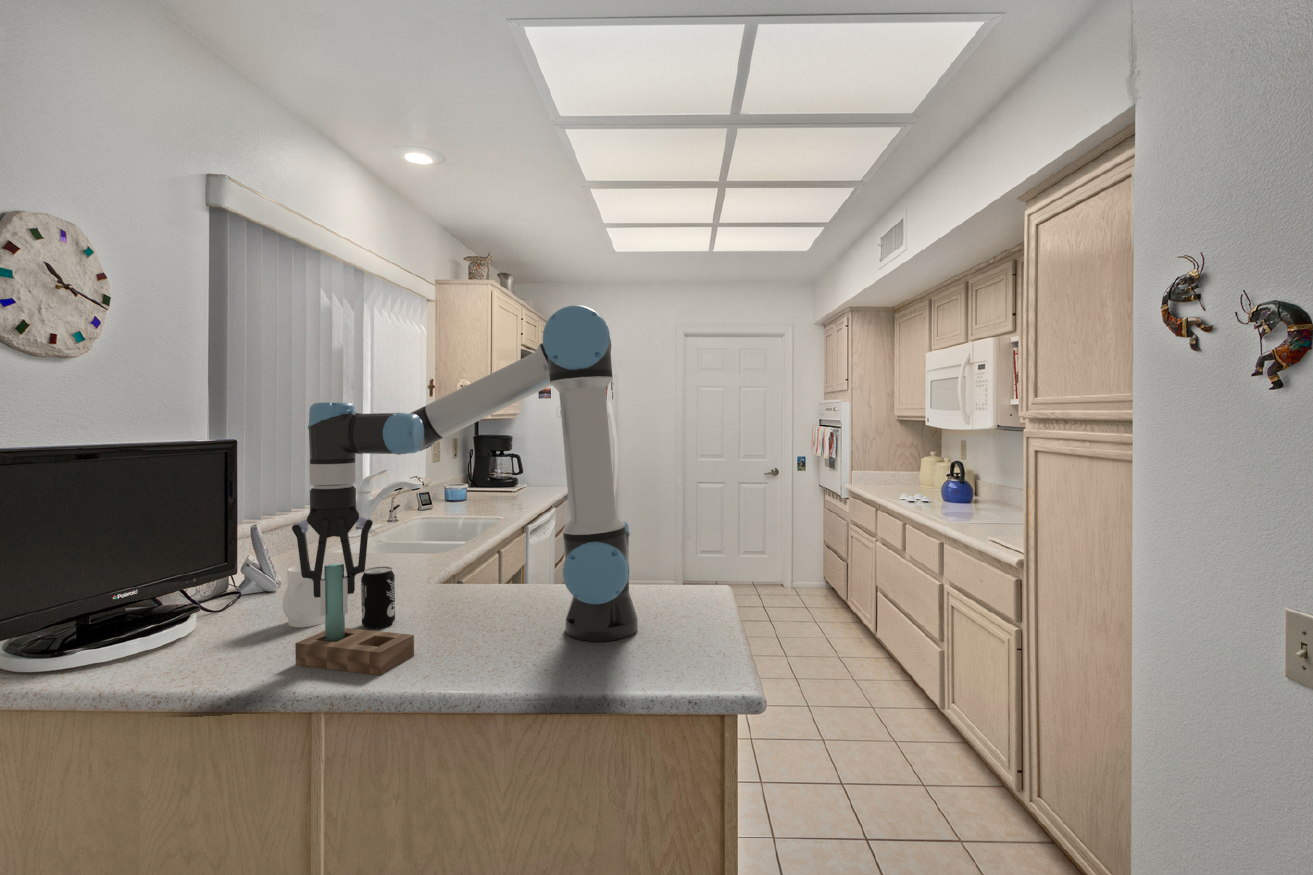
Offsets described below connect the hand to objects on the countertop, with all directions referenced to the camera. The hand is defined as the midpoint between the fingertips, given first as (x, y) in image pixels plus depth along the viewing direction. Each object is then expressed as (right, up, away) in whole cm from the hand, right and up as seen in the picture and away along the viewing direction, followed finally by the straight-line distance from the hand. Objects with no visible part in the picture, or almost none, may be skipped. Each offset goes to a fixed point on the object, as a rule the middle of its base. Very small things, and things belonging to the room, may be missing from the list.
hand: (334, 612), depth 112 cm
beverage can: (-1, -8, +19) cm, 21 cm away
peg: (0, -5, 0) cm, 5 cm away
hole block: (+4, -9, -1) cm, 10 cm away
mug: (-17, -8, +19) cm, 27 cm away
